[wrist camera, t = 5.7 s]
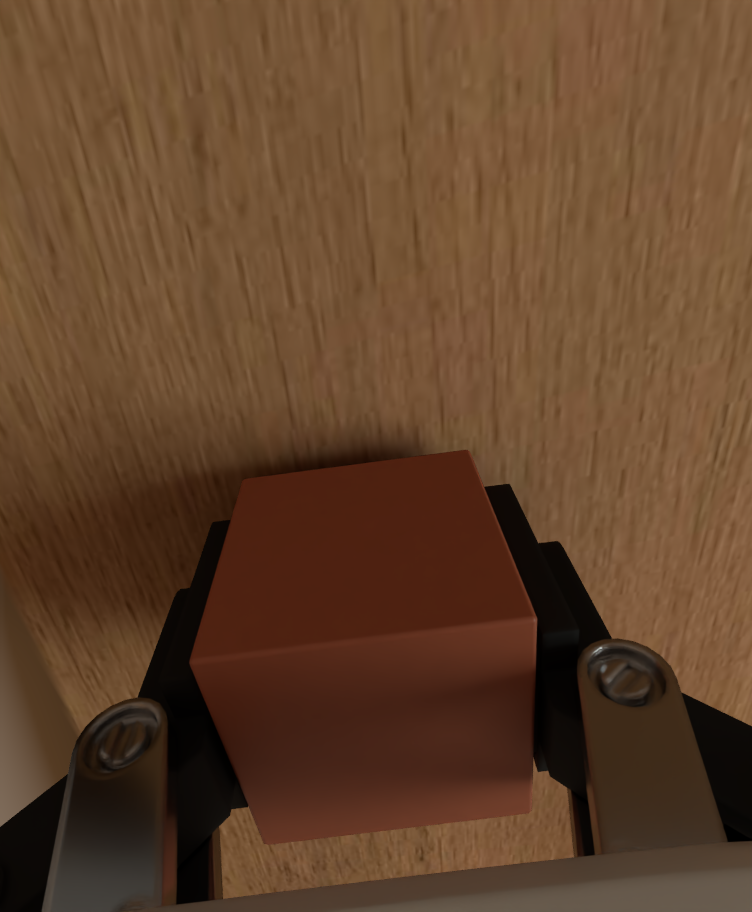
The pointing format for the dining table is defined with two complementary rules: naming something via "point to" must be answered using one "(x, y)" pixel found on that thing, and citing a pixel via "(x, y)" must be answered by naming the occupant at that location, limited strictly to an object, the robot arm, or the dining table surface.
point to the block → (370, 651)
